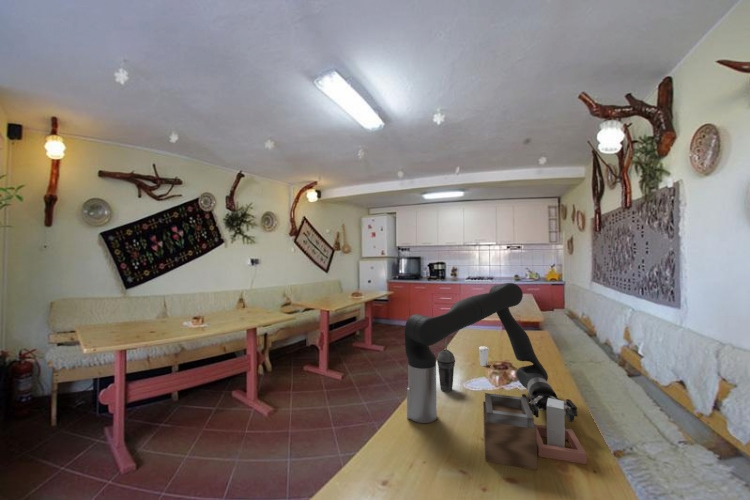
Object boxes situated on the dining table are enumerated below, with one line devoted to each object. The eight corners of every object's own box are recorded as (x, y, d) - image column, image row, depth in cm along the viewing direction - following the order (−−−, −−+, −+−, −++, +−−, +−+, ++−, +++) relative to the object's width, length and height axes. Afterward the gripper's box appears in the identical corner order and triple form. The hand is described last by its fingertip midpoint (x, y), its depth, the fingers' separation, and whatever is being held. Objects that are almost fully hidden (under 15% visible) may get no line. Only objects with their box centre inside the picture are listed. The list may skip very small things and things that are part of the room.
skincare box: (565, 455, 82) (564, 409, 83) (546, 450, 85) (545, 405, 85) (565, 443, 87) (564, 400, 88) (548, 439, 90) (547, 397, 90)
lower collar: (538, 456, 82) (538, 446, 82) (530, 432, 93) (530, 423, 93) (586, 464, 79) (586, 454, 79) (572, 438, 90) (571, 429, 90)
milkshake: (491, 367, 149) (491, 346, 149) (479, 366, 150) (479, 345, 150) (489, 364, 154) (489, 343, 154) (478, 363, 155) (478, 343, 155)
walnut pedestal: (485, 460, 80) (485, 411, 81) (483, 435, 92) (483, 392, 92) (537, 470, 77) (536, 418, 77) (528, 442, 88) (527, 397, 88)
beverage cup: (435, 391, 122) (434, 340, 123) (438, 384, 129) (438, 336, 129) (454, 394, 119) (453, 342, 120) (456, 387, 126) (456, 337, 127)
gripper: (517, 379, 105) (526, 399, 90) (565, 383, 101) (582, 406, 86) (518, 401, 105) (526, 426, 90) (565, 407, 101) (583, 434, 86)
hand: (554, 416), depth 88 cm, fingers open, 8 cm apart
